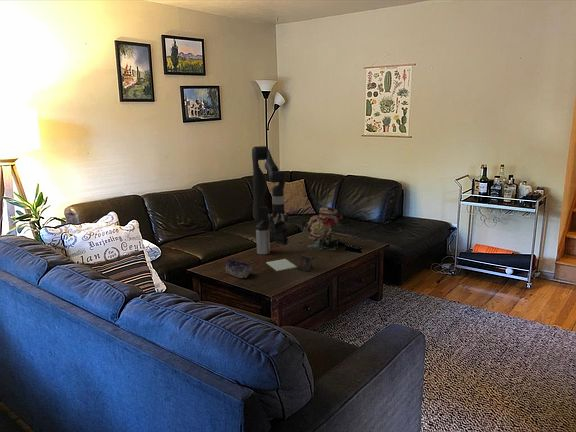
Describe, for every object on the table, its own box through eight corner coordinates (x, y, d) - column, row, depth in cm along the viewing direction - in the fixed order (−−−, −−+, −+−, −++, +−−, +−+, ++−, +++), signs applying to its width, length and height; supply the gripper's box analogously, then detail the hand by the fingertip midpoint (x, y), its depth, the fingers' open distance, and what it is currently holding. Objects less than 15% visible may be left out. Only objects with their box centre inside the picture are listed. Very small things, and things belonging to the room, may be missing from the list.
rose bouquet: (311, 240, 358) (310, 201, 351) (348, 243, 346) (348, 204, 339) (298, 249, 335) (297, 209, 328) (337, 253, 323) (336, 211, 316)
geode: (218, 274, 290) (219, 258, 289) (232, 271, 299) (232, 256, 298) (242, 279, 278) (242, 263, 277) (255, 276, 287) (255, 260, 286)
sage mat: (266, 263, 308) (266, 262, 308) (285, 259, 314) (285, 258, 314) (277, 271, 292) (277, 270, 292) (297, 267, 298) (297, 266, 298)
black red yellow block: (286, 244, 290) (279, 221, 292) (275, 248, 300) (268, 226, 302) (291, 242, 292) (284, 220, 294) (279, 247, 303) (272, 225, 304)
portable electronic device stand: (296, 269, 295) (296, 256, 293) (304, 265, 301) (304, 253, 299) (307, 272, 289) (307, 259, 287) (315, 268, 295) (315, 256, 293)
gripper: (286, 200, 299) (286, 225, 303) (265, 202, 293) (266, 228, 297) (291, 202, 292) (291, 228, 296) (269, 205, 286) (270, 231, 291)
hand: (278, 228), depth 297 cm, fingers closed on black red yellow block, 4 cm apart
